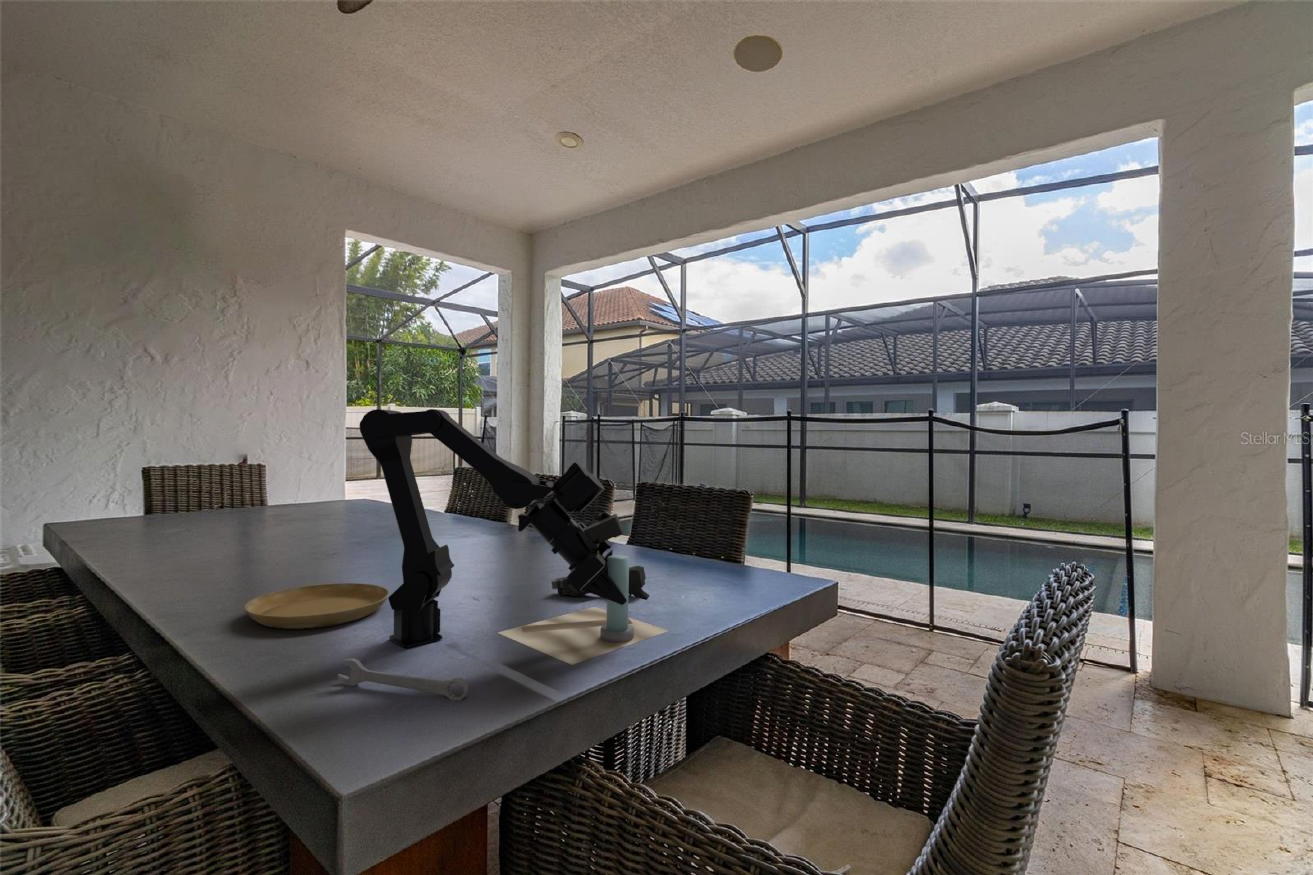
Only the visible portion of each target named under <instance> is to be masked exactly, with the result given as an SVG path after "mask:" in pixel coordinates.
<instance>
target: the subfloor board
mask: <svg viewBox="0 0 1313 875" xmlns="http://www.w3.org/2000/svg"><path fill="white" fill-rule="evenodd" d="M606 624H607V609H606V610H605V609H602V608H599V607H596V606H593V607H592V606H591V607H588V608H585V609H582V610H578V611H574V612H571V613H570V612H569V613H567V614H563V615H558V616H555V617H552V618H547V619H544V620H543V619H542V620H540V621H536V622H532V623H528V624H525V625H521V626H517V627H514V628H513V627H512V628H510V629H505V630H502V631H499V632H497V634H498V635H500V636H503V637H505V638H508V639H510V640H513V641H515V642H518V643H520V644H522V645H525V646H527V647H528V648H531V649H534V650H536V651H539V652H541V653H543V654H546V655H548V656H551V657H552V658H554V659H556V660H558V661H559V660H560V661H562V662H564V663H566V664H569V665H570V666H573V665H576V664H578V663H581V662H584V661H587V660H591V659H592V658H596V657H599V656H602V655H605V654H607V653H610V652H613V651H616V650H619V649H621V648H622V649H623V648H625V647H627V646H631V645H633V644H636V643H640V642H642V641H646V640H648V639H651V638H653V637H657V636H659V635H663V634H666V633H668V632H671V630H669V629H667V628H663V627H660V626H657V625H654V624H650V623H647V622H644V621H640V620H637V619H636V618H631V617H628V625H631V626H633V628H634V638H633V639H632V640H631V641H628V642H624V643H609V642H605V641H603V640H601V638H600V629H601V627H602V626H604V625H606Z"/></svg>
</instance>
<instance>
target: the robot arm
mask: <svg viewBox="0 0 1313 875" xmlns="http://www.w3.org/2000/svg"><path fill="white" fill-rule="evenodd" d="M359 432H360V434H361V437H362V439H363V440H364V441H363V442H364V443H365V445H366V448H367V449H368V451H369V453H370V454H371V455H372V456H373V458H375V460H376V461H377V462H378V463H379V465H380V467H381V470H382V473H383V477H384V480H385V483H386V487H387V490H388V494H389V499H390V502H391V505H392V509H393V513H394V516H395V519H396V524H397V527H398V530H399V533H400V537H401V541H402V545H403V552H402V553H403V554H402V555H403V556H402V562H401V572H402V573H401V574H402V581H403V583H402V584H401V585H399V587H398V588H397V589H396V590H395V591H393V593H391V594H389V595H388V598H387V600H388V603H389V605H390V608H391V610H393V634H392V635H389V636H388V637H389V638H388V639H389V640H390V641H392V642H393V643H396V644H398V645H399V646H401V647H403V648H404V649H407V648H412V647H415V646H420V645H424V644H428V643H432V642H436V641H440V640H443V635H441V634H439V633H440V632H441V608H440V607H439V600H436V598H438V597H440V594H441V591H442V589H444V588H445V587H446V586H447V585H448V584H449V582H450V581H451V579H452V574H453V572H452V569H453V568H454V567H455V564H454V563H453V562H452V559H451V558H450V547H449V546H448V544H445V545H442V546H439V544H438V543H437V542H436V540H434V538H433V536H432V530H431V528H430V524H429V521H428V518H427V515H426V510H425V506H424V504H423V501H422V497H421V493H420V490H419V489H420V488H419V486H418V483H417V478H416V475H415V472H414V468H413V465H412V461H411V454H412V446H413V437H412V436H419V435H420V436H421V435H426V434H430V435H431V436H433V437H434V438H436V440H438V441H439V442H440V443H442V444H443V445H444V446H445V447H446V448H448V449H449V450H450V451H452V452H453V453H454V454H455V455H456V456H458V457H459V458H460V459H462V460H463V461H464V462H465V463H466V464H468V465H469V466H470V467H472V469H474V470H475V471H476V472H477V473H479V474H480V475H481V476H482V477H483V478H484V480H486V482H487V483H488V485H489V487H490V488H491V490H492V491H493V492H494V493H495V495H497V497H498V498H499V499H500V500H501V502H502V503H503V504H504V505H505V506H507V507H508V508H510V509H513V510H520V509H524V508H527V507H529V506H531V505H532V504H534V503H536V502H537V500H543V499H545V498H546V497H549V496H550V495H553V493H554V495H553V496H552V497H551V498H550V499H549V500H548V501H547V502H546V503H545V504H544V503H541V502H537V503H536V504H535V505H534V506H533V507H532V508H531V509H530V510H529V511H528V512H527V513H520V514H518V515H517V518H518V527H517V531H518V532H520V533H522V532H523V531H524V530H526V529H527V527H529V526H531V527H532V528H533V529H534V530H535V531H536V532H537V533H538V535H540V536H541V537H542V538H543V539H544V541H545V542H546V543H548V544H549V545H550V547H551V550H550V551H551V552H552V553H553V555H557V554H558V555H560V557H561V558H562V559H563V560H564V561H565V562H566V563H567V564H568V565H569V566H568V569H569V570H570V572H569V573H568V574H567V575H566V577H567V585H568V586H569V587H570V588H571V589H572V590H573V591H574V592H575V593H576V592H578V591H579V590H581V591H586V592H589V594H592V595H595V596H598V597H600V598H603V599H605V600H607V599H608V600H610V601H613V602H616V603H618V604H621V605H624V604H625V603H626V602H627V599H626V598H625V596H624V595H623V593H622V592H621V590H620V589H619V587H618V586H617V585H616V583H615V582H614V580H613V579H612V577H611V576H610V575H609V561H608V556H613V555H614V553H613V552H614V550H613V549H611V548H612V547H613V546H612V545H613V543H612V542H611V541H610V539H612V538H614V539H615V538H618V537H619V536H621V535H623V534H624V531H625V530H624V528H623V524H622V523H621V519H620V518H619V516H618V514H617V513H613V514H611V513H610V512H608V511H607V510H606V511H605V510H604V511H603V512H601V513H599V514H598V518H597V521H596V522H593V523H592V524H590V525H588V526H587V525H585V523H584V522H582V521H579V522H577V521H576V520H575V519H574V518H573V517H572V516H571V515H570V514H569V513H568V512H570V513H573V512H574V511H577V512H579V513H582V512H583V511H584V510H585V509H586V508H587V507H588V506H589V505H590V504H591V503H592V502H593V501H595V499H597V498H598V496H599V495H600V494H602V492H603V491H605V487H604V485H603V484H602V482H600V479H598V478H597V477H596V476H595V475H594V474H593V473H590V471H589V470H587V469H586V468H585V467H583V466H582V465H581V464H580V463H579V462H578V461H575V462H573V463H572V464H571V465H570V466H569V467H568V469H567V470H566V471H565V472H564V473H563V474H562V475H561V476H560V477H559V478H558V479H557V480H556V481H555V482H553V481H551V480H550V481H548V480H543V479H542V480H541V479H539V478H538V477H537V476H536V474H534V473H531V472H530V471H528V470H526V469H525V468H523V467H521V466H519V465H517V464H514V463H512V462H510V461H508V460H506V459H504V458H502V457H500V456H499V455H498V454H497V453H495V452H494V451H493V450H492V449H491V448H489V447H488V446H487V445H486V444H484V443H483V441H481V440H480V439H478V438H477V437H476V436H475V435H473V434H472V433H471V432H469V431H468V430H467V429H466V428H465V427H464V426H462V425H461V424H460V423H458V422H457V421H456V420H455V419H454V418H452V417H451V416H450V414H449V413H448V412H447V411H445V410H444V409H442V410H441V409H433V408H429V409H426V410H421V411H410V412H409V411H407V412H401V411H398V410H391V409H390V410H389V409H380V408H378V409H372V410H369V411H368V412H366V413H365V414H364V415H363V416H362V419H361V421H359ZM557 501H558V502H559V503H560V504H559V503H558V502H557ZM564 508H565V509H564ZM567 511H568V512H567ZM610 549H611V550H610ZM608 550H609V552H607V554H606V553H605V552H606V551H608Z"/></svg>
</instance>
